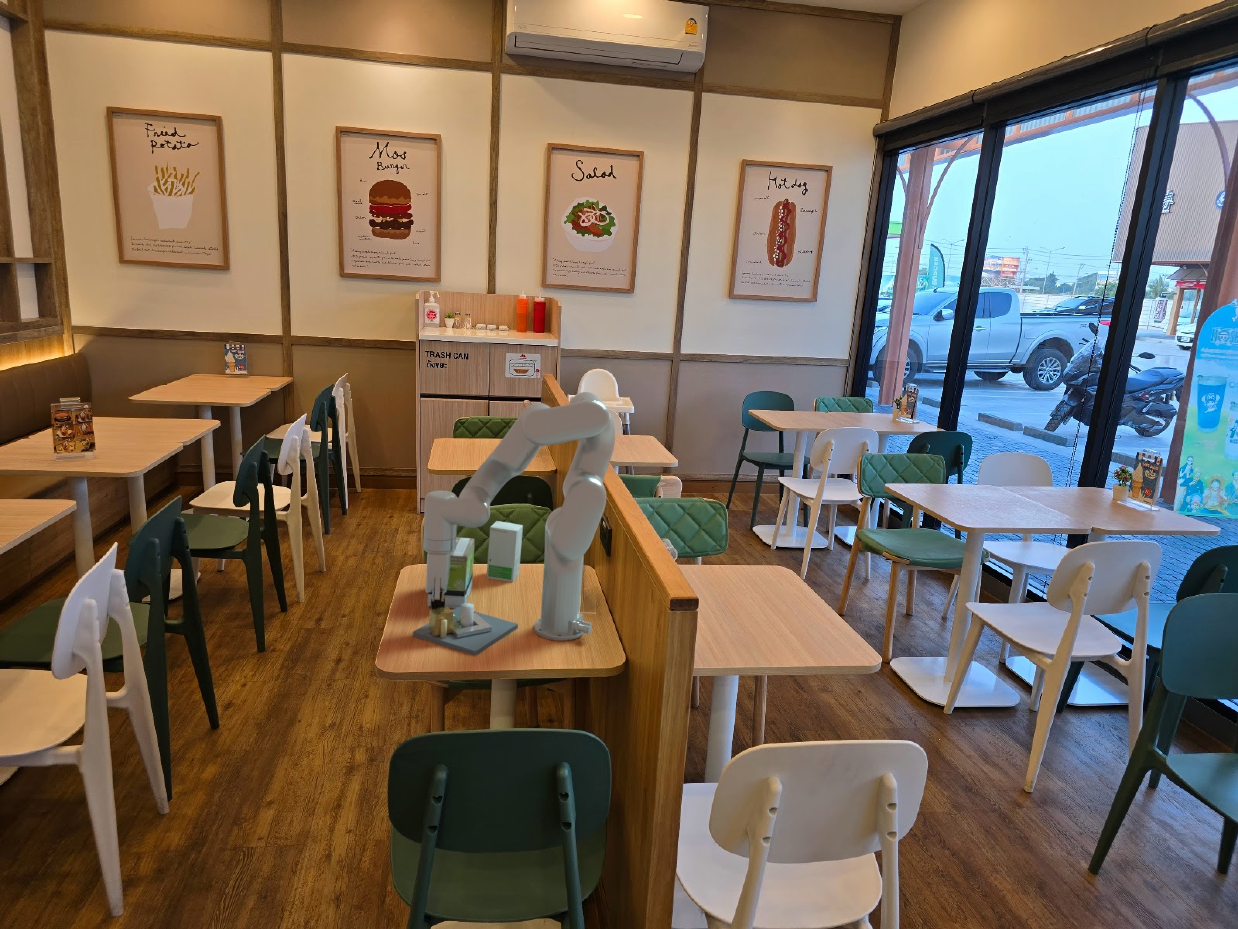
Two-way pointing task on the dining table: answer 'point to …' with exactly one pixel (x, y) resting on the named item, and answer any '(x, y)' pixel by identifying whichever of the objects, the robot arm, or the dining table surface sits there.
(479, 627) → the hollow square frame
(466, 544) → the tea box
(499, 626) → the post board
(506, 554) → the skincare box
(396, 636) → the dining table surface
